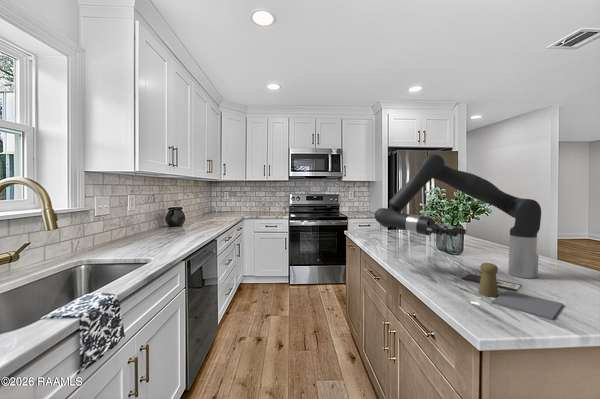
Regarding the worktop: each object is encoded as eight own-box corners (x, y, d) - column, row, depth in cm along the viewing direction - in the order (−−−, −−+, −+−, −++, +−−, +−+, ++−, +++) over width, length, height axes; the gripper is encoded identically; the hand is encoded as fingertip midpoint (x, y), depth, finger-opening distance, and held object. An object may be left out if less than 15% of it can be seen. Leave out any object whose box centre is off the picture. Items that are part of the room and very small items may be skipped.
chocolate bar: (469, 273, 122) (521, 284, 109) (469, 275, 122) (521, 286, 109) (461, 278, 116) (515, 290, 103) (461, 280, 116) (515, 292, 103)
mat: (491, 303, 92) (491, 301, 92) (507, 291, 102) (507, 290, 102) (552, 320, 80) (552, 317, 80) (562, 305, 90) (562, 303, 90)
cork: (502, 296, 98) (503, 265, 98) (490, 298, 96) (491, 266, 95) (485, 290, 104) (486, 260, 103) (474, 292, 101) (475, 262, 101)
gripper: (412, 216, 112) (456, 224, 101) (428, 215, 122) (469, 222, 110) (410, 234, 113) (453, 244, 101) (425, 232, 123) (466, 240, 111)
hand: (461, 233), depth 106 cm, fingers open, 8 cm apart
